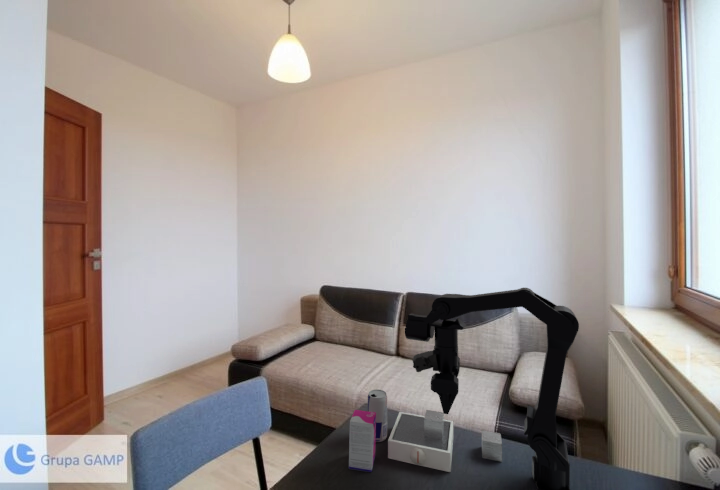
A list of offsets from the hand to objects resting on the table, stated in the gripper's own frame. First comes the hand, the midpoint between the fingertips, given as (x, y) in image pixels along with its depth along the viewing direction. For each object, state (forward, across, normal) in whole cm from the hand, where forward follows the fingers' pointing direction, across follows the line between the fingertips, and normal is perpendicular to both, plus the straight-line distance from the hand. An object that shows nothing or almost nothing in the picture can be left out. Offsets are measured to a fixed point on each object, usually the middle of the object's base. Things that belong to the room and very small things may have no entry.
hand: (447, 404), depth 82 cm
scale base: (+12, 0, -6) cm, 14 cm away
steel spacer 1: (+8, 0, -3) cm, 8 cm away
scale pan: (+8, +1, -6) cm, 11 cm away
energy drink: (+12, 0, -19) cm, 22 cm away
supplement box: (+12, +11, -20) cm, 25 cm away
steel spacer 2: (+12, -2, +11) cm, 16 cm away
